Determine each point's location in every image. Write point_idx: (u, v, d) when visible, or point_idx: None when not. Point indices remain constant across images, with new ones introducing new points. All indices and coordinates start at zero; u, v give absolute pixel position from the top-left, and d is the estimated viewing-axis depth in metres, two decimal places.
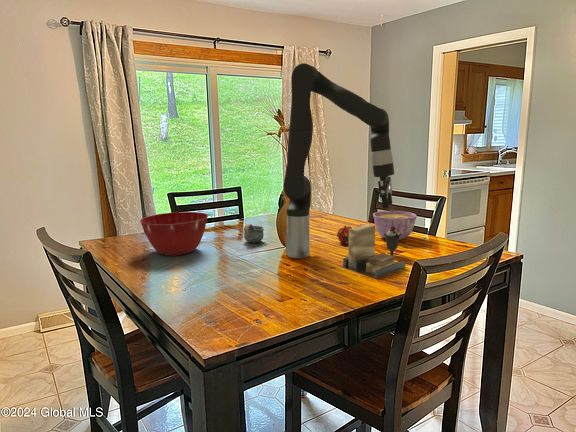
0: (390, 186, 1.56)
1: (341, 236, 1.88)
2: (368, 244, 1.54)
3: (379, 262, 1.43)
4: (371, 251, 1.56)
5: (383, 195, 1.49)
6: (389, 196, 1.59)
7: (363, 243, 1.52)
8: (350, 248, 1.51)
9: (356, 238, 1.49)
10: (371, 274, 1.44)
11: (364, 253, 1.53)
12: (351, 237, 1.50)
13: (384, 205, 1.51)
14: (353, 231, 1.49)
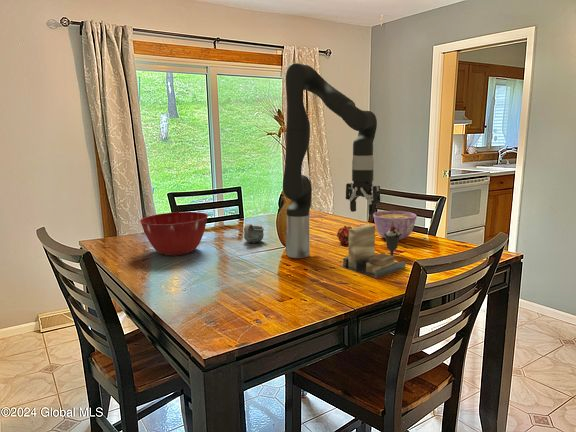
0: None
1: (341, 236, 1.88)
2: (368, 244, 1.54)
3: (379, 262, 1.43)
4: (371, 251, 1.56)
5: (378, 201, 1.46)
6: (354, 203, 1.55)
7: (363, 243, 1.52)
8: (350, 248, 1.51)
9: (356, 238, 1.49)
10: (371, 274, 1.44)
11: (364, 253, 1.53)
12: (351, 237, 1.50)
13: (373, 211, 1.48)
14: (353, 231, 1.49)
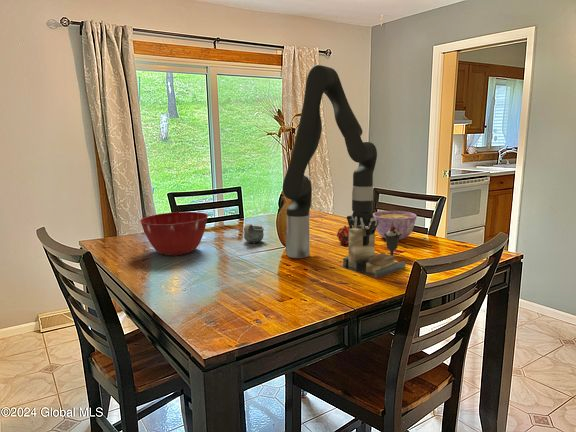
0: None
1: (341, 236, 1.88)
2: (368, 244, 1.54)
3: (379, 262, 1.43)
4: (371, 251, 1.56)
5: (372, 233, 1.50)
6: None
7: None
8: (350, 248, 1.51)
9: (356, 238, 1.49)
10: (371, 274, 1.44)
11: (364, 253, 1.53)
12: (351, 237, 1.50)
13: (367, 242, 1.52)
14: (353, 231, 1.49)
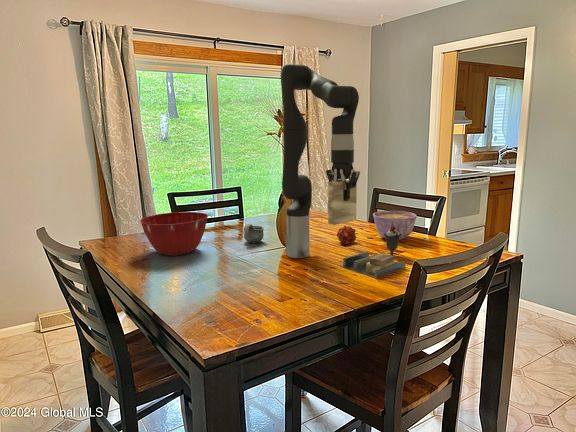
0: None
1: (341, 236, 1.88)
2: (349, 200, 1.42)
3: (379, 262, 1.43)
4: (353, 207, 1.44)
5: (352, 186, 1.38)
6: None
7: None
8: (329, 203, 1.39)
9: (335, 191, 1.37)
10: (371, 274, 1.44)
11: (344, 209, 1.41)
12: (331, 190, 1.38)
13: (347, 197, 1.39)
14: (332, 184, 1.37)
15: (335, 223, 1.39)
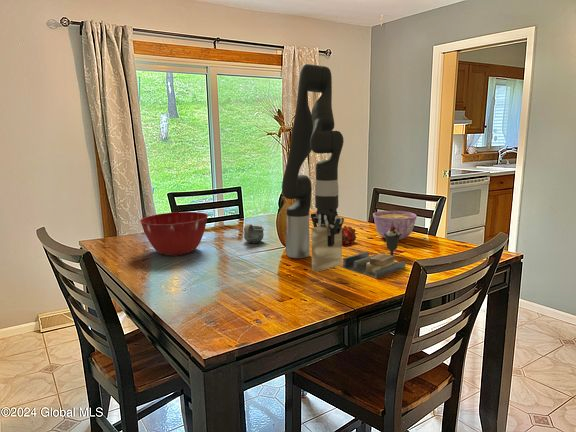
0: None
1: None
2: (334, 245, 1.39)
3: (379, 262, 1.43)
4: (338, 252, 1.41)
5: (337, 232, 1.34)
6: None
7: None
8: (313, 249, 1.36)
9: (319, 238, 1.34)
10: (371, 274, 1.44)
11: (329, 255, 1.38)
12: (314, 236, 1.35)
13: (332, 243, 1.36)
14: (316, 230, 1.34)
15: (319, 270, 1.36)
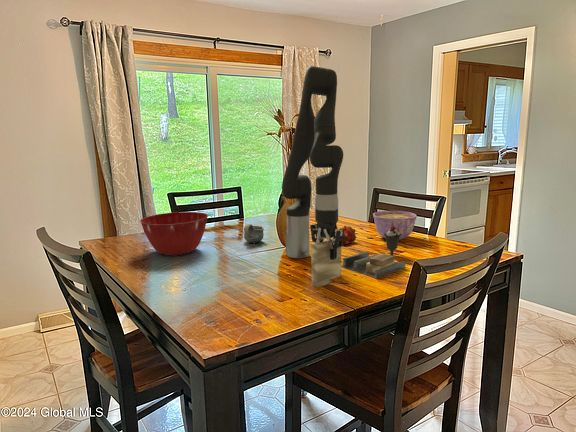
0: None
1: None
2: (334, 261, 1.40)
3: (379, 262, 1.43)
4: (337, 268, 1.42)
5: (339, 245, 1.34)
6: None
7: (328, 260, 1.38)
8: (312, 265, 1.37)
9: (319, 255, 1.35)
10: (371, 274, 1.44)
11: (328, 271, 1.39)
12: (314, 253, 1.36)
13: (334, 256, 1.36)
14: (316, 247, 1.35)
15: (318, 286, 1.37)
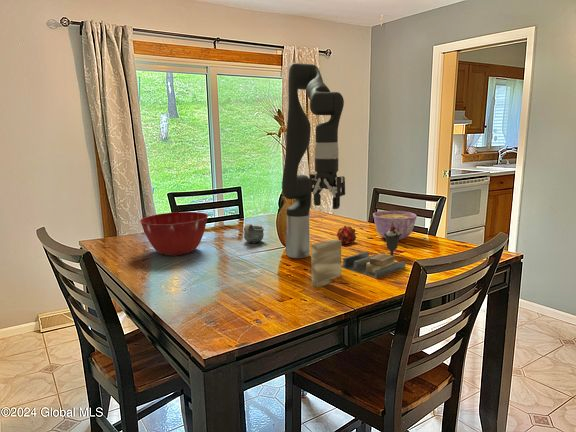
0: None
1: (341, 236, 1.88)
2: (334, 261, 1.40)
3: (379, 262, 1.43)
4: (337, 268, 1.42)
5: (342, 193, 1.30)
6: (319, 196, 1.39)
7: (328, 260, 1.38)
8: (312, 265, 1.37)
9: (319, 255, 1.35)
10: (371, 274, 1.44)
11: (328, 271, 1.39)
12: (314, 253, 1.36)
13: (337, 205, 1.32)
14: (316, 247, 1.35)
15: (318, 286, 1.37)
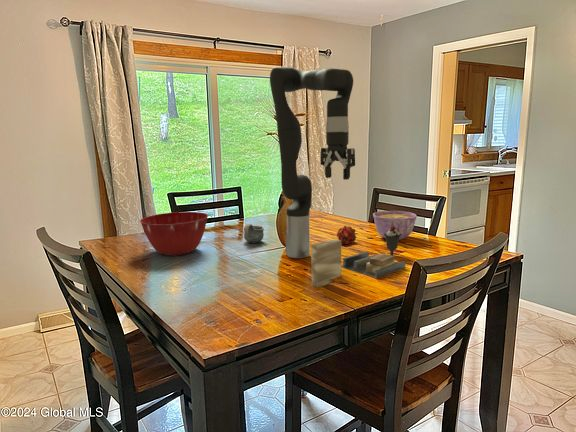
0: None
1: (341, 236, 1.88)
2: (334, 261, 1.40)
3: (379, 262, 1.43)
4: (337, 268, 1.42)
5: (352, 164, 1.39)
6: (330, 168, 1.47)
7: (328, 260, 1.38)
8: (312, 265, 1.37)
9: (319, 255, 1.35)
10: (371, 274, 1.44)
11: (328, 271, 1.39)
12: (314, 253, 1.36)
13: (347, 176, 1.40)
14: (316, 247, 1.35)
15: (318, 286, 1.37)
